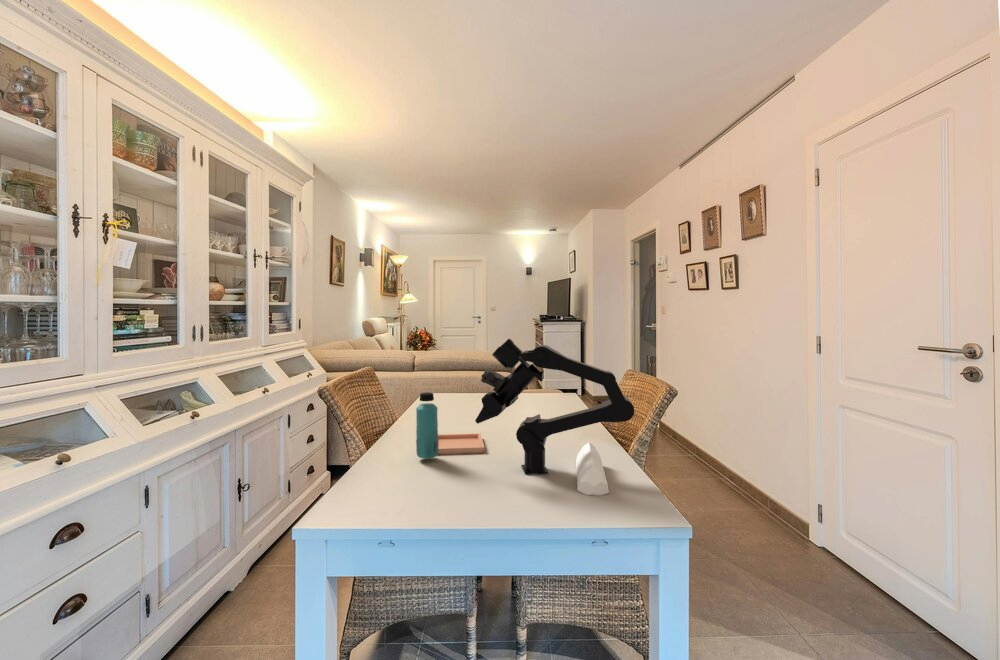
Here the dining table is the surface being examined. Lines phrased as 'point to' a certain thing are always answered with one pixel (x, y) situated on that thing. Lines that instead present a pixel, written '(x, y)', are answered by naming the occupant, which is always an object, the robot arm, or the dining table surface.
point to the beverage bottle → (427, 427)
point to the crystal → (590, 472)
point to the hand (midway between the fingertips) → (481, 418)
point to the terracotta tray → (460, 443)
